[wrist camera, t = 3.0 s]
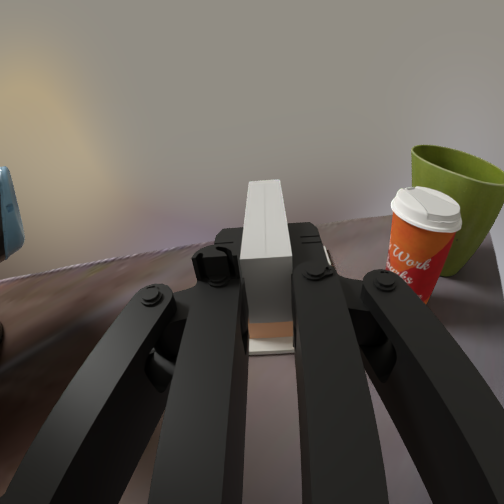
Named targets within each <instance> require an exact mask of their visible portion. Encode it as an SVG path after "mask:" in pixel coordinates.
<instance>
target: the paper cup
mask: <svg viewBox="0 0 504 504" xmlns="http://www.w3.org/2000/svg"><path fill="white" fill-rule="evenodd" d="M405 189H406V190H404V189H402V188H401V189H400V190H399V191H398V192H397V194H396V197H395V198H394V199H393V200H392V202H391V208H392V210H393V219H392V228H391V236H390V244H389V251H388V258H387V264H386V270H389V271H392V272H394V273H396V274H398V275H399V276H400V277H401V278H403V280H404V281H405V282H406V283H407V284H408V285H409V286H410V287H411V288H412V290H413V291H414V292H415V293H416V294H417V295H418V296H419V297H420V299H421V300H422V301H423V302H424V303H425V304H427V302H428V300H429V298H430V296H431V294H432V291H433V289H434V287H435V285H436V283H437V280H438V278H439V276H440V273H441V271H442V268H443V266H444V264H445V261H446V259H447V256H448V253H449V251H450V248H451V245H452V243H453V240H454V237H455V234H456V231H459V230H460V229H461V225H462V219H461V215H460V206H459V204H458V203H457V202H456V201H455V200H454V199H452V198H451V197H449V196H448V195H446V194H444V193H442V192H439V191H437V190H434V189H430V188H425V187H419V186H416V187H415V188H414V187H409V188H405Z"/></svg>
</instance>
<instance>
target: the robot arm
mask: <svg viewBox="0 0 504 504" xmlns="http://www.w3.org/2000/svg"><path fill="white" fill-rule="evenodd" d="M24 238H25V236H24V230H23V225H22V220H21V216H20V212H19V207H18V203H17V199H16V195H15V191H14V186H13V182H12V179H11V175H10V171H9V170H8V168H7V167H6V166H4V167H0V262H2V261H4V260H6V259H8V257H9V256H10V255H12V254H13V253H15V252H16V251H18V250H19V249H20V248H21V247H22V246H23V243H24ZM192 262H193V266H194V270H195V274H196V278H197V283H196V286H194V287H192V288H189V289H186V290H183V291H179V292H175V293H173V292H172V290H171V289H170V288H169V286H167V285H164V284H152V285H148V286H146V287H144V288H142V289H140V290H139V291H138V292H137V293H136V294H135V295H134V296H133V298H132V299H131V300H130V301H129V303H128V304H127V305H126V306H125V308H124V309H123V310H122V312H121V313H120V314H119V316H118V317H117V318H116V319H115V321H114V322H113V323H112V325H111V326H110V327H109V329H108V330H107V331H106V333H105V334H104V336H103V337H102V338H101V340H100V341H99V342H98V344H97V345H96V346H95V348H94V349H93V351H92V352H91V353H90V355H89V356H88V358H87V359H86V360H85V362H84V363H83V365H82V366H81V368H80V369H79V370H78V372H77V373H76V375H75V376H74V378H73V379H72V381H71V382H70V384H69V385H68V387H67V388H66V390H65V391H64V393H63V394H62V396H61V397H60V399H59V400H58V402H57V403H56V405H55V406H54V408H53V410H52V411H51V413H50V414H49V416H48V417H47V419H46V421H45V422H44V424H43V426H42V427H41V429H40V431H39V432H38V434H37V436H36V437H35V439H34V441H33V442H32V444H31V446H30V447H29V449H28V451H27V453H26V455H25V456H24V458H23V460H22V462H21V464H20V465H19V467H18V469H17V471H16V473H15V475H14V477H13V479H12V480H11V482H10V484H9V486H8V488H7V490H6V492H5V494H4V495H3V496H2V497H0V504H118V503H119V501H120V499H121V497H122V495H123V493H124V491H125V489H126V487H127V485H128V483H129V481H130V479H131V476H132V474H133V472H134V470H135V468H136V466H137V464H138V462H139V460H140V458H141V456H142V454H143V452H144V450H145V448H146V446H147V444H148V442H149V440H150V438H151V436H152V434H153V432H154V430H155V428H156V426H157V424H158V422H159V420H160V418H161V416H162V414H163V412H164V410H165V414H164V418H163V423H162V428H161V433H160V438H159V443H158V448H157V453H156V459H155V464H154V470H153V475H152V481H151V487H150V493H149V499H148V504H242V489H243V468H244V447H245V425H246V404H247V382H248V360H249V338H250V335H249V329H248V317H249V323H250V324H251V323H272V322H289V321H293V347H294V352H295V365H296V379H297V394H298V410H299V427H300V448H301V473H302V504H389V501H388V492H387V485H386V477H385V470H384V464H383V458H382V452H381V446H380V440H379V435H378V429H377V424H376V419H375V414H374V409H373V405H372V400H371V395H370V391H369V387H368V382H367V378H366V374H365V370H366V372H367V374H368V376H369V378H370V379H371V381H372V383H373V385H374V387H375V389H376V390H377V392H378V394H379V396H380V398H381V400H382V402H383V404H384V405H385V407H386V409H387V411H388V413H389V415H390V417H391V419H392V421H393V423H394V424H395V426H396V428H397V430H398V432H399V434H400V436H401V438H402V440H403V442H404V444H405V446H406V448H407V450H408V452H409V454H410V456H411V458H412V460H413V462H414V464H415V466H416V468H417V470H418V472H419V474H420V477H421V479H422V481H423V483H424V485H425V487H426V489H427V491H428V494H429V496H430V498H431V500H432V502H433V504H504V409H503V407H502V406H501V404H500V402H499V401H498V399H497V398H496V396H495V395H494V393H493V392H492V390H491V389H490V387H489V386H488V384H487V383H486V381H485V380H484V379H483V377H482V376H481V374H480V373H479V372H478V370H477V369H476V367H475V366H474V365H473V363H472V362H471V361H470V359H469V358H468V357H467V355H466V354H465V353H464V351H463V350H462V349H461V347H460V346H459V345H458V343H457V342H456V341H455V340H454V338H453V337H452V336H451V335H450V333H449V332H448V331H447V330H446V328H445V327H444V326H443V325H442V323H441V322H440V321H439V320H438V319H437V317H436V316H435V315H434V314H433V313H432V311H431V310H430V309H429V308H428V307H427V306H426V304H425V303H424V302H423V301H422V300H421V299H420V297H419V296H418V295H417V294H416V293H415V292H414V291H413V290H412V288H411V287H410V286H409V285H408V284H407V283H406V282H405V281H404V280H403V278H401V277H400V276H399V275H398V274H396V273H394V272H392V271H389V270H383V269H379V270H373V271H371V272H368V273H367V274H366V275H365V276H364V278H363V281H361V280H354V279H349V278H344V277H342V276H340V275H338V274H337V272H336V270H335V269H334V267H333V266H331V265H330V264H329V263H328V260H327V257H326V254H325V250H324V247H323V244H322V241H321V238H320V235H319V232H318V229H317V228H316V227H315V226H314V225H313V224H312V223H310V222H305V223H287V219H286V213H285V208H284V201H283V195H282V189H281V183H280V180H279V179H278V180H264V181H250V182H249V186H248V195H247V203H246V211H245V219H244V227H242V228H227V229H222V230H221V231H220V232H219V233H218V234H217V235H216V238H215V242H214V245H210V246H207V247H204V248H202V249H200V250H198V251H197V252H196V253H195V254H194V255H193V257H192ZM1 338H2V324H1V322H0V342H1ZM364 369H365V370H364ZM165 408H166V409H165Z"/></svg>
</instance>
